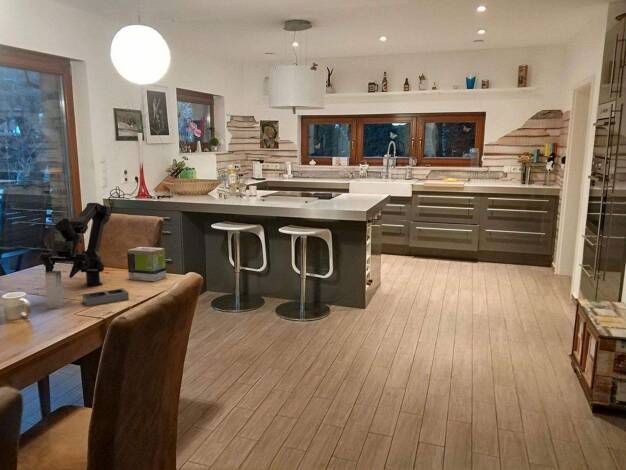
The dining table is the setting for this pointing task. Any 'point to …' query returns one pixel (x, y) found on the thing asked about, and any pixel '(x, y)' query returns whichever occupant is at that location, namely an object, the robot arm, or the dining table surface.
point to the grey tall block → (54, 289)
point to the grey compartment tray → (105, 297)
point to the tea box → (146, 263)
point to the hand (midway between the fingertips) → (58, 277)
